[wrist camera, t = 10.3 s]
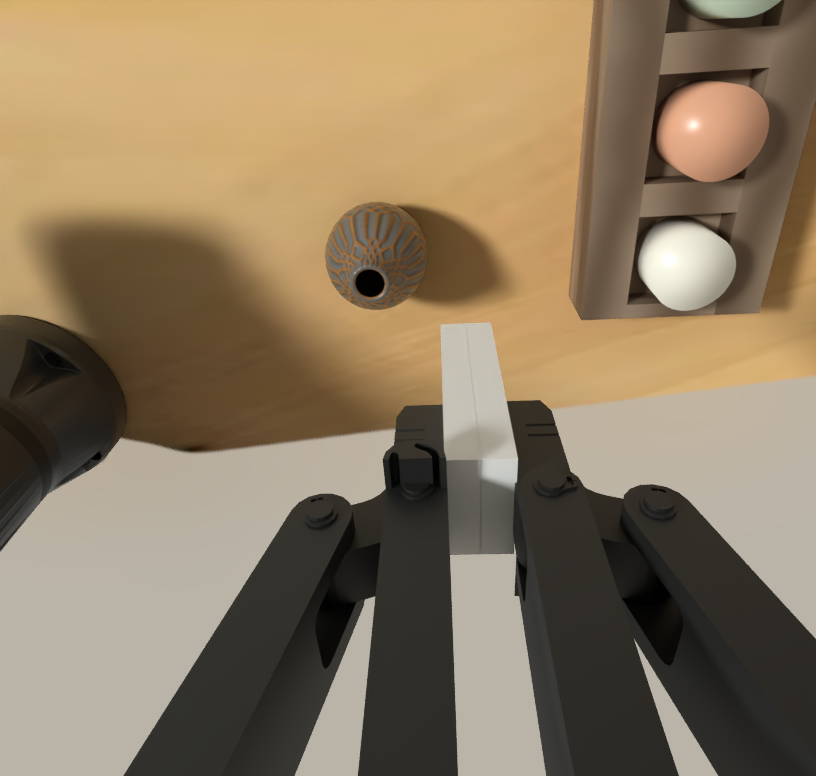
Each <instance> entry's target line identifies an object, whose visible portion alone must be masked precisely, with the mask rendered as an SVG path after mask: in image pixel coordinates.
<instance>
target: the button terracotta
mask: <svg viewBox="0 0 816 776" xmlns="http://www.w3.org/2000/svg"><path fill="white" fill-rule="evenodd" d="M768 129H769V112H768V108H767V106H766V103H765V101H764V100H763V98H762V97H761V96H760V95H759V93H757V92H756V91H755V90H753V89H751V88H750V87H747V86H744V85H738V84H732V83H726V82H720V81H714V80H708V79H700V80H694V81H690V82H688V83H685V84H683V85H681V86H680V87H678V88H677V89H675V90H674V91H673V92H672V93H670V94H669V95H668V96H667V97H666V98H665V100H664V101H663V102H662V104H661V105H660V107H659V108H658V110H657V112H656V114H655V117H654V120H653V124H652V131H651V140H652V145H653V148H654V150H655V152H656V154H657V156H658V157H659V158H660V159H661V160H662V161H663V162H665V163H666V164H668V165H669V166H671V167H673V168H675V169H677V170H678V171H680V172H682V173H684V174H685V175H687V176H689V177H691V178H693V179H695V180H698V181H702V182H717V181H721V180H725V179H727V178H730V177H732V176H734V175H736V174H738V173H739V172H741V171H742V170H743V169H745V168H746V167H747V166H748V165H749V164H750V163H751V162H752V161H753V160H754V159H755V157H756V156H757V155H758V153H759V152H760V150H761V148H762V147H763V145H764V142H765V140H766V137H767V134H768Z"/></svg>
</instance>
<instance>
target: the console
mask: <svg viewBox="0 0 816 776" xmlns="http://www.w3.org/2000/svg"><path fill="white" fill-rule="evenodd" d="M700 79H708V80H714V81H720V82H726V83H732V84H738V85H744V86H747V87H750V88H751V89H753V90H755V91H756V92H757V93H759V95H760V96H761V97H762V98H763V100H764V101H765V103H766V106H767V108H768V112H769V129H768V134H767V137H766V140H765V142H764V145H763V147H762V148H761V150H760V152H759V153H758V155H757V156H756V157H755V159H754V160H753V161H752V162H751V163H750V164H749V165H748V166H747V167H746V168H745V169H743V170H742V171H741V172H739V173H738V174H736V175H734V176H732V177H730V178H727V179H725V180H721V181H717V182H702V181H698V180H695V179H693V178H691V177H689V176H687V175H685V174H684V173H682V172H680V171H678V170H677V169H675V168H673V167H671V166H669V165H668V164H666V163H665V162H663V161H662V160H661V159H660V158H659V157H658V156H657V154H656V152H655V150H654V148H653V145H652V140H651V131H652V124H653V120H654V117H655V114H656V112H657V110H658V108H659V107H660V105H661V104H662V102H663V101H664V100H665V98H666V97H667V96H668V95H669V94H670V93H672V92H673V91H674V90H675V89H677V88H678V87H680V86H681V85H683V84H685V83H688V82H690V81H694V80H700ZM815 102H816V0H781V1H780V2H779V3H778V4H776V5H775V6H773V7H772V8H770V9H769V10H767V11H765V12H763V13H760V14H758V15H755V16H751V17H744V18H725V19H702V18H698V17H695V16H693V15H691V14H690V13H689V12H687V11H686V10H685V9H684V8H683V7H682V5H681V4H680V2H679V1H678V0H594V6H593V17H592V29H591V41H590V53H589V64H588V76H587V88H586V100H585V112H584V123H583V135H582V147H581V159H580V170H579V182H578V194H577V206H576V218H575V229H574V241H573V253H572V265H571V276H570V288H569V297H570V299H571V301H572V303H573V305H574V307H575V309H576V311H577V313H578V315H579V317H580V319H581V320H598V319H622V318H647V317H671V316H696V315H720V314H744V313H759V311H760V307H761V304H762V300H763V296H764V292H765V289H766V285H767V281H768V277H769V274H770V270H771V266H772V262H773V259H774V255H775V251H776V247H777V244H778V240H779V236H780V233H781V229H782V225H783V221H784V218H785V214H786V210H787V206H788V203H789V199H790V195H791V191H792V188H793V184H794V180H795V176H796V173H797V169H798V165H799V161H800V158H801V154H802V150H803V147H804V143H805V139H806V135H807V132H808V128H809V124H810V120H811V117H812V113H813V109H814V105H815ZM674 216H685V217H690V218H693V219H695V220H697V221H698V222H700V223H701V224H702V225H704V226H705V227H707V228H708V229H709V230H711V231H712V232H714V233H715V234H716V235H718V236H719V237H721V238H722V239H724V240H725V241H726V242H727V243H728V244H729V245H730V246H731V248H732V249H733V251H734V254H735V258H736V269H735V274H734V277H733V279H732V281H731V283H730V285H729V287H728V288H727V289H726V290H725V292H724V293H723V294H722V295H721V296H720V297H719V298H717V299H716V300H715V301H713V302H712V303H710V304H708V305H706V306H704V307H702V308H699V309H695V310H689V311H680V310H675V309H671V308H669V307H667V306H665V305H664V304H662V303H661V302H660V301H659V300H658V298H657V297H656V296H655V295H654V294H653V293H652V291H651V290H650V289H649V288H648V287H647V286H646V284H645V283H644V282H643V281H642V280H641V278H640V277H639V276H638V274H637V273H636V270H635V268H634V262H633V259H634V252H635V248H636V245H637V243H638V241H639V239H640V238H641V236H642V235H643V234H644V233H645V232H646V231H647V230H648V229H649V228H650V227H651V226H652V225H654V224H655V223H657V222H659V221H661V220H663V219H666V218H669V217H674Z"/></svg>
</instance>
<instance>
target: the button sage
mask: <svg viewBox="0 0 816 776" xmlns="http://www.w3.org/2000/svg"><path fill="white" fill-rule="evenodd" d="M678 1H679V2H680V4H681V5H682V7H683V8H684V9H685V10H686V11H687V12H689V13H690V14H691V15H693V16H695V17H698V18H702V19H725V18H744V17H751V16H755V15H758V14H760V13H763V12H765V11H767V10H769V9H770V8H772V7H773V6H775V5H776V4H778V3H779V2H780V1H781V0H678Z"/></svg>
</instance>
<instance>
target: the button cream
mask: <svg viewBox="0 0 816 776" xmlns="http://www.w3.org/2000/svg"><path fill="white" fill-rule="evenodd" d="M633 262H634V268H635V270H636V273H637V274H638V276H639V277H640V278H641V280H642V281H643V282H644V283H645V284H646V286H647V287H648V288H649V289H650V290H651V291H652V293H653V294H654V295H655V296H656V297H657V298H658V300H659V301H660V302H661V303H662V304H664V305H665V306H667V307H669V308H671V309H675V310H680V311H689V310H695V309H699V308H702V307H704V306H706V305H708V304H710V303H712V302H713V301H715V300H716V299H717V298H719V297H720V296H721V295H722V294H723V293H724V292H725V290H726V289H727V288H728V287H729V285H730V283H731V281H732V279H733V277H734V274H735V269H736V258H735V254H734V251H733V249H732V248H731V246H730V245H729V244H728V243H727V242H726V241H725V240H724V239H722V238H721V237H719V236H718V235H716V234H715V233H714V232H712V231H711V230H709V229H708V228H707V227H705V226H704V225H702V224H701V223H700V222H698V221H697V220H695V219H693V218H690V217H685V216H674V217H669V218H666V219H663V220H661V221H659V222H657V223H655V224H654V225H652V226H651V227H650V228H649V229H648V230H647V231H646V232H645V233H644V234H643V235H642V236H641V238H640V239H639V241H638V243H637V245H636V248H635V252H634V259H633Z"/></svg>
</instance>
